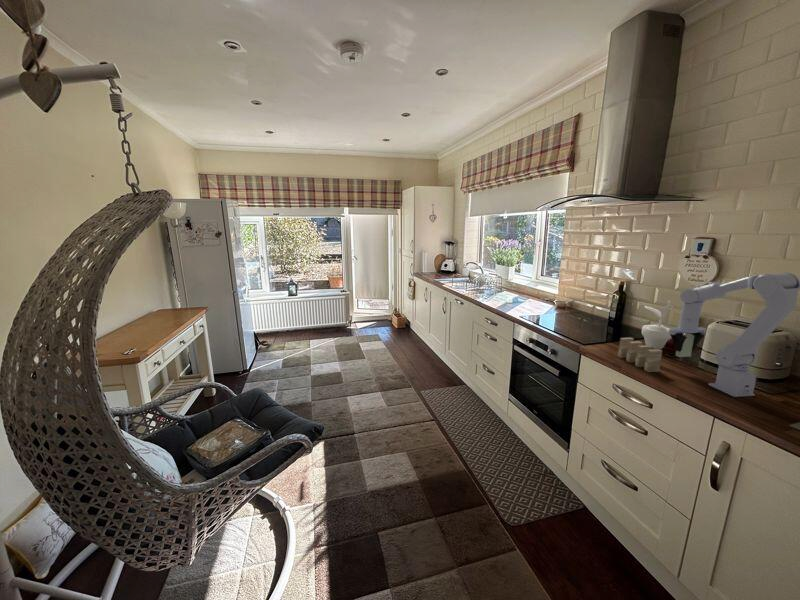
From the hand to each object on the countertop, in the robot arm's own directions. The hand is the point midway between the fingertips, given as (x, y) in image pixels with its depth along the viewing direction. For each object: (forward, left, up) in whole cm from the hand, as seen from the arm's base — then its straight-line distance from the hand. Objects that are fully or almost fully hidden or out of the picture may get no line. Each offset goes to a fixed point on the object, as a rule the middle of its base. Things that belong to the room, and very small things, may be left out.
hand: (684, 350), depth 135 cm
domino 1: (+16, +12, -9) cm, 22 cm away
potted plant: (+26, -11, -9) cm, 30 cm away
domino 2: (+11, +12, -9) cm, 19 cm away
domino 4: (+1, +12, -9) cm, 15 cm away
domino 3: (+6, +12, -9) cm, 16 cm away
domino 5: (0, 0, -2) cm, 2 cm away
